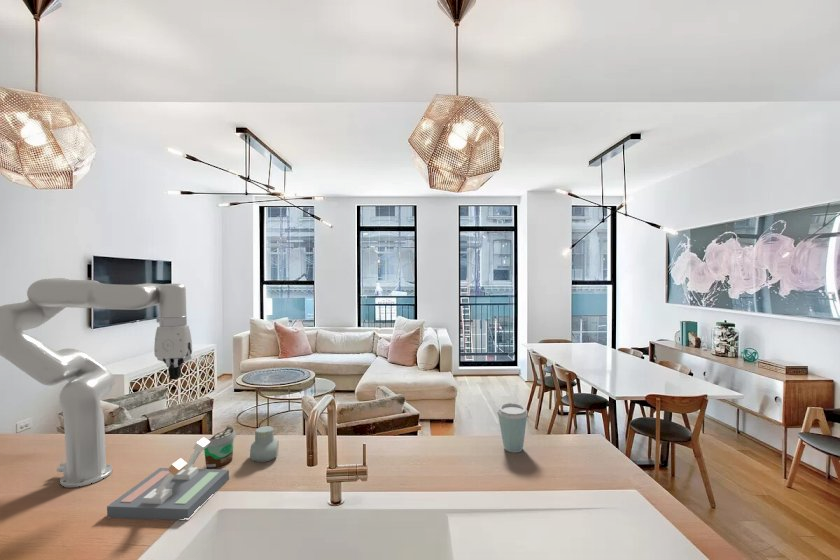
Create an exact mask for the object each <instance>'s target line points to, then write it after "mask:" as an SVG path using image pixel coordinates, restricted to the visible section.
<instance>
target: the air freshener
mask: <svg viewBox="0 0 840 560" xmlns="http://www.w3.org/2000/svg"><path fill="white" fill-rule="evenodd" d="M274 434H275V433H274V427H273V426H270V425H265V426H260V427H258V428H256V429H255V431H254V441H253V442H252V443H251V444H250V449H249V459H250V460H252V461H255V462H257V463H264V462H269V461H272V460H273V459H275V458H276V457H277V456H278V455H279V445H280V444H279V443H280V442H279V439H276V438H275V435H274Z"/></svg>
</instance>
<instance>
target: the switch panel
mask: <svg viewBox="0 0 840 560" xmlns="http://www.w3.org/2000/svg"><path fill="white" fill-rule="evenodd" d="M169 468H170V467H159V468H157V469H156V470H155V471H153V472H152V473H151V474H150V475H148V476H147V477H146V478H144V479H143V480H142V481H140V482H139V483H137V484H136V485H134V486H132V488H130V489H129V490H128V491H127V492H125V493H123V494H122V495H120V497H118V498H117V499H115V500H114V501H113V502H111V503H110V504H109V505H107V506H106V513H107V514H106V518H109V519H110V518H111V519H134V520H135V519H138V520H143V519H144V520H167V521H180V520H179V519H184V518H189V517H190V516H191V515H192V514H193V513H194V511H195V510H196V509H197V508H198V507H199V506H201V505H202V504H203V503H204V502H205V501H206V500H207V499H208V498H209V497H210V496H211V495H212V494H214V493H215V492H216V493H217V492H218V491H219V490H220V489H221V488H222V487H223V486H224V485H225V484H226V483H227V482H228V481H229V480H230V470H229V469H219V468H216V469H206V468H199V467H197V466H192V467H191V468H190V469H189V470H188V471H186V470H184V469H183V470H181V471H180V472H179V473H178V474H176V475H175V476H174V478H173V479H172V480H171V482H170V483H169V484H168V486H167V487H166V488H165V490H164V491H162V492H161V493H160V494H159V495H158V494H157V493H156V492H155V491H156V490H157V488H158V487H159V486H160V484H161V483H162V482H163V480H164V479H165V478H166V476H167V475H168V474H169V471H168V469H169ZM216 493H215V494H216ZM215 494H214V495H215Z"/></svg>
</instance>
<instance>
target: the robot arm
mask: <svg viewBox="0 0 840 560" xmlns="http://www.w3.org/2000/svg"><path fill="white" fill-rule="evenodd" d="M186 291H187V290H186V286H185V285H184V284H182V283H164V284H159V283H148V282H147V283H146V282H145V283H139V284H113V283H103V282H100V281H98V280H95V279H93V280H92V279H90V280H89V279H69V278H64V277H63V278H62V277H61V278H60V277H54V278H43V279H42V278H41V279H39V280H36V281H34V282H32V283H31V284H30V285H29V287H28V288H27V290H26V296H27V299H26V300H25V301H23V302H17V303H8V304H7V303H6V304H3V305H0V356H1V357H2V358H4V359H5V360H7V361H8V362H10V363H11V364H13V365H14V366H15V367H16V368H18V369H20V370H21V371H22V372H24V373H25V374H26V375H28V376H29V377H31V378H32V379H34V380H35V381H36V382H38V383H39V384H41V385H43V386H49V387H50V386H55V385H58V384H62V383H63V382H65V381H67V383H65V385H64V386H63V387H62V389H61V391H60V392H59V405H60V408H61V413H62V418H63V425H64V441H65V444H64V445H65V461H63V462H61V463H60V464H59V466H58V467H57V468H56V470H55V471H56V472H57V473H63V476H62V477H61V478H60V479H59V483H60V484H61V485H62V486H61V485H60V484H59V485H60V486H61V487H63V486H64V488H79V486H80V487H84V486H88V485H92V484H94V483H97V482H99V481H102V480H104V479H105V478H107V477H108V476H109V475H111V474H112V472H113V465H111V464H109V463H107V460H106V459H107V458H106V457H107V456H106V455H107V454H106V433H105V432H106V431H105V414H104V410H103V407H102V405H101V400H102V399H103V398H105V397H106V396H108V395H109V394H110V393H111V392H112V391H113V390H114V388H115V386H116V379H115V376H114V375H113V373H112V372H111V371H109V370H108V369H107V368H106V367H104V366H103V365H101V364H100V363H99V362H97V361H96V360H95V359H93V357H91V356H89V355H88V354H86V353H85V352H83V351H82V350H79V349H75V348H62V349H59V350H55V349H53V348H51V347H50V346H48V345H46V344H45V343H44V342H43V341H42V340H40V339H38V338H37V337H33V336H31V335H29V334H28V333H25V332H24V331H27V330H31V329H35V328H38V327H40V326H42V325H44V324H45V323H47V322H49V320H51V319H52V318H53V317H55V316H56V315H57V314H60V312H62V311H63V310H64V309H66V308H79V309H82V308H83V309H95V310H97V309H102V310H124V311H126V310H127V311H128V310H129V311H130V310H131V311H133V310H136V311H138V310H143V309H145V308H151V307H154V306H158V315H159V316H158V318H156V320H155V321H156V323H157V324H158V323H159V326H157V328H156V330H155V334H154V335H155V337H154V347H153V348H154V356H155V358H157V361H159V362H163V363H164V364H165V365H166V367H167V368H168V376H169V380H170V381H171V380H172V381H173V380H174V381H175V380H178V379H180V378H181V375H182V369H181V368H182V366H183V365H184V363H185V362H189V361H191V360H192V353H193V342H192V334H191V329H190V327H189V325H188V323H187V321H188V319H187V317H188V316H187V295H186V294H187V292H186ZM103 478H104V479H103ZM91 483H92V484H91Z"/></svg>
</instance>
